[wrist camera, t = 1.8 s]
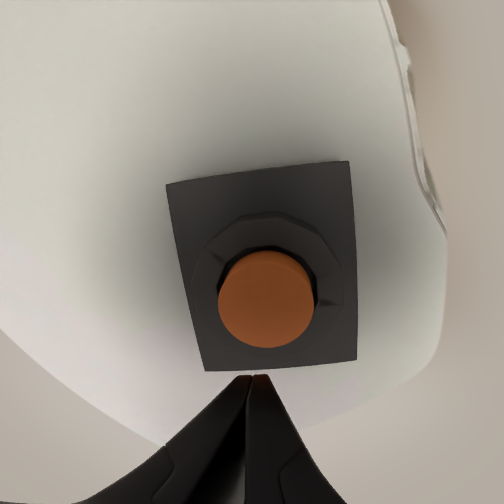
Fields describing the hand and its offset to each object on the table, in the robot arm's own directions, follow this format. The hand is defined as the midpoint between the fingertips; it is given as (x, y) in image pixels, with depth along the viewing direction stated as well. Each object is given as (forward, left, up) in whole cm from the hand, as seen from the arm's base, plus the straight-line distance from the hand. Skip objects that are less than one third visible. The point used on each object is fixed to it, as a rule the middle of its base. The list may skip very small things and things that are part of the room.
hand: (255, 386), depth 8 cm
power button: (0, 0, -7) cm, 7 cm away
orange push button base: (0, 0, -10) cm, 10 cm away
